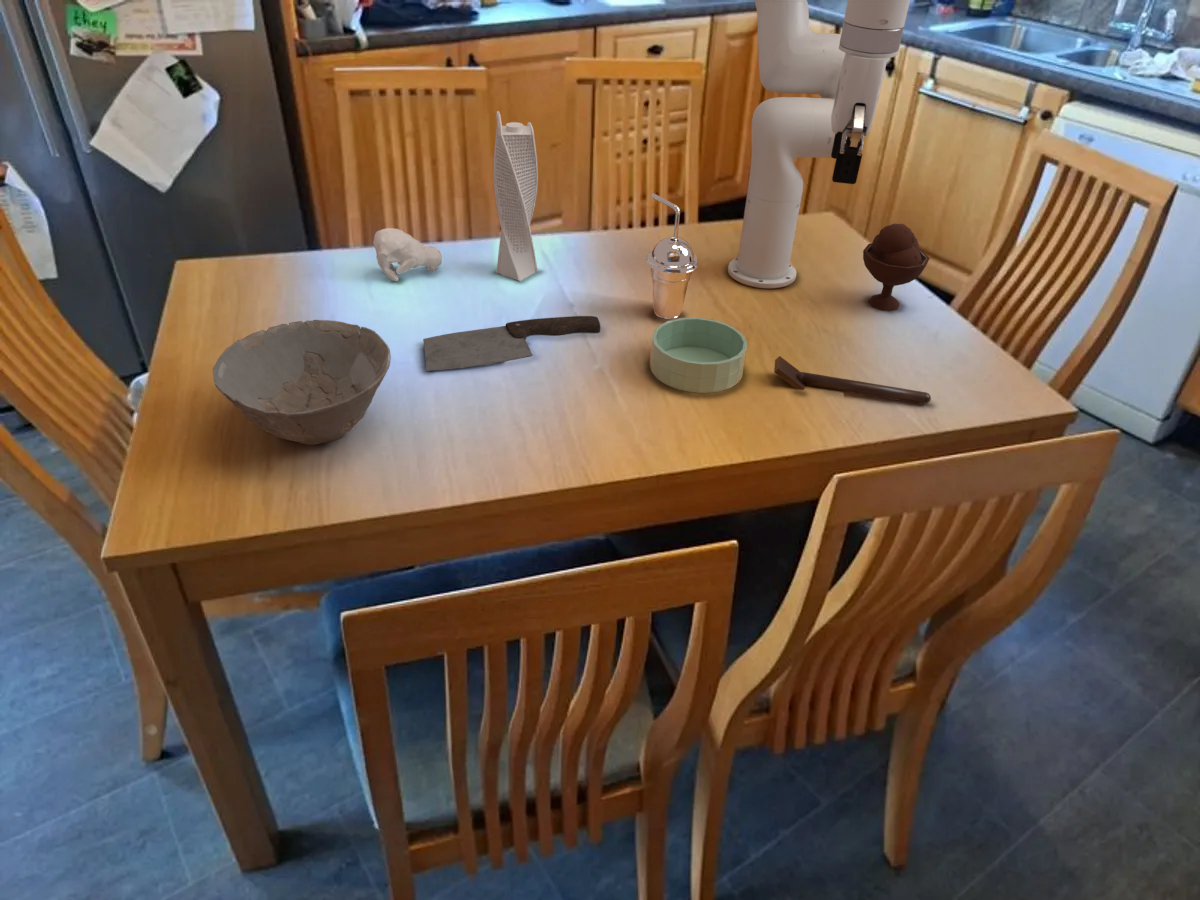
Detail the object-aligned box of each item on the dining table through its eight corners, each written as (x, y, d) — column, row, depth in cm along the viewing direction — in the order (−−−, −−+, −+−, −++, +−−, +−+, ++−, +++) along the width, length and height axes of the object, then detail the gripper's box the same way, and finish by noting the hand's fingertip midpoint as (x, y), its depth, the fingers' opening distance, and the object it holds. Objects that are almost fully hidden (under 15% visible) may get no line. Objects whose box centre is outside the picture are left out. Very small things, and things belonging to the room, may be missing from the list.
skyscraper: (486, 272, 161) (480, 114, 145) (512, 259, 166) (509, 105, 150) (520, 285, 158) (518, 124, 141) (545, 271, 163) (546, 114, 146)
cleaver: (591, 319, 148) (592, 307, 147) (612, 347, 141) (613, 335, 140) (415, 345, 139) (414, 333, 138) (428, 376, 132) (427, 364, 131)
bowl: (657, 342, 143) (659, 312, 140) (745, 354, 141) (750, 324, 138) (642, 388, 132) (645, 356, 129) (738, 402, 130) (743, 370, 127)
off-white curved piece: (370, 223, 155) (439, 222, 159) (371, 268, 160) (437, 267, 164) (376, 237, 150) (446, 236, 155) (376, 283, 155) (444, 281, 159)
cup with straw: (656, 331, 146) (666, 214, 134) (632, 307, 153) (640, 193, 141) (701, 323, 149) (715, 208, 137) (675, 299, 156) (687, 188, 144)
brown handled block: (773, 372, 132) (828, 320, 125) (775, 359, 135) (828, 308, 128) (876, 451, 136) (934, 404, 129) (875, 437, 139) (932, 391, 132)
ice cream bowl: (918, 321, 153) (941, 239, 144) (852, 313, 154) (871, 231, 145) (913, 294, 161) (935, 215, 152) (851, 287, 163) (869, 208, 154)
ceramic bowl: (238, 492, 109) (220, 425, 103) (221, 396, 125) (206, 333, 120) (416, 455, 116) (410, 391, 110) (378, 369, 133) (371, 309, 127)
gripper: (839, 22, 121) (815, 147, 132) (842, 52, 108) (815, 189, 118) (895, 27, 120) (867, 153, 131) (905, 58, 107) (873, 195, 117)
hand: (842, 170), depth 124 cm, fingers open, 9 cm apart
